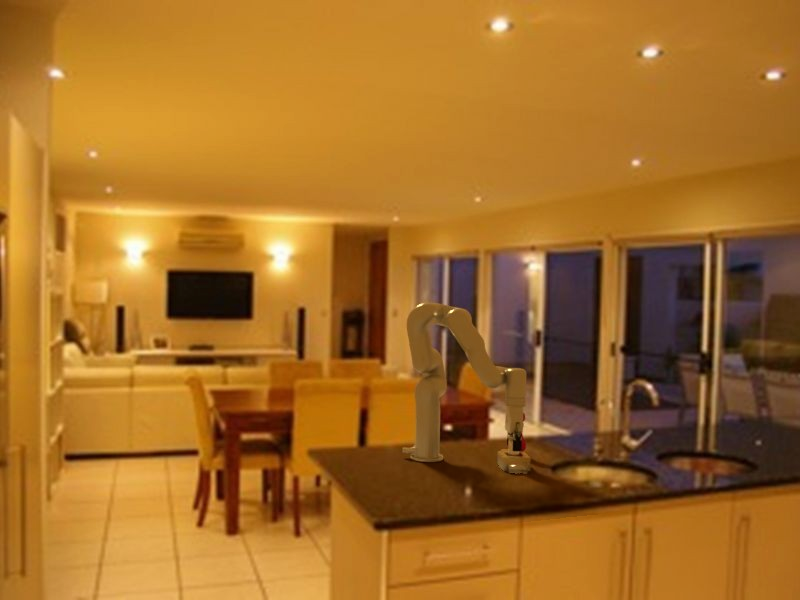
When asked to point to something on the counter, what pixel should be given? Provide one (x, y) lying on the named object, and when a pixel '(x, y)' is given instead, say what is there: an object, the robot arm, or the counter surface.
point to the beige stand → (514, 462)
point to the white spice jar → (511, 446)
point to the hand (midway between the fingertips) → (514, 448)
